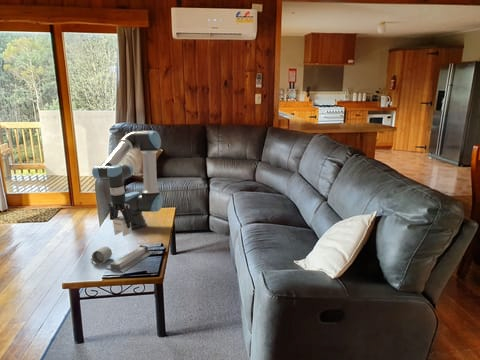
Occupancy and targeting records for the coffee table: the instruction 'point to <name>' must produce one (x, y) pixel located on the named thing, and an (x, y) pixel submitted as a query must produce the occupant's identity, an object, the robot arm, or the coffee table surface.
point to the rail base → (130, 259)
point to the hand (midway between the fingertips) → (123, 232)
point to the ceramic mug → (101, 255)
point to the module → (120, 225)
